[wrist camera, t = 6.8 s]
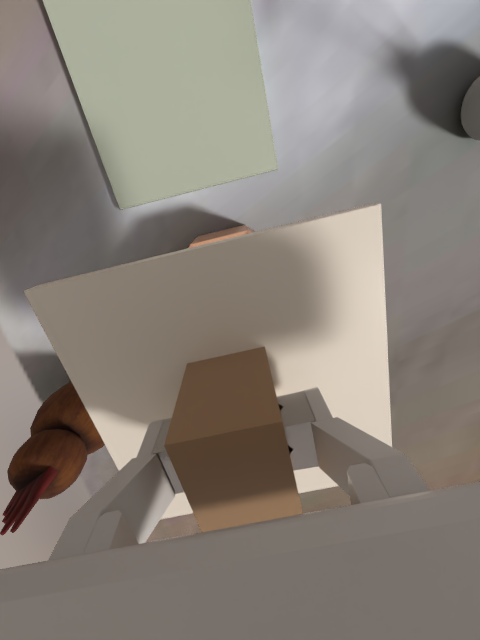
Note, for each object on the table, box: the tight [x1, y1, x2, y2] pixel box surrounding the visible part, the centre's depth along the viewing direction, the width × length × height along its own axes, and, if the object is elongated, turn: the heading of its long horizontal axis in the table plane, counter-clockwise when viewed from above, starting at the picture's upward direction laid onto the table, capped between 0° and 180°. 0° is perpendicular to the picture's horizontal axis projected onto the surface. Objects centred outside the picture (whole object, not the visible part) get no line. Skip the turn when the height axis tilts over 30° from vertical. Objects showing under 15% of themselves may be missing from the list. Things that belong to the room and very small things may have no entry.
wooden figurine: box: [0, 382, 105, 535], centre depth 24 cm, size 7×6×15 cm
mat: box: [43, 0, 278, 210], centre depth 21 cm, size 13×13×1 cm
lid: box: [23, 204, 392, 532], centre depth 10 cm, size 12×12×5 cm
